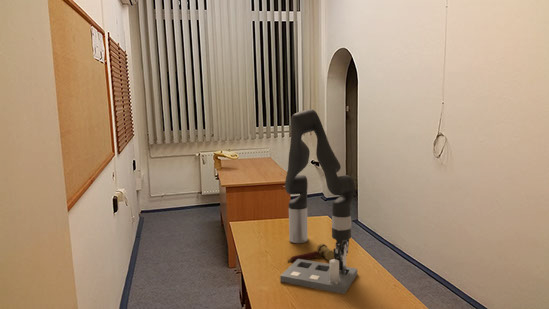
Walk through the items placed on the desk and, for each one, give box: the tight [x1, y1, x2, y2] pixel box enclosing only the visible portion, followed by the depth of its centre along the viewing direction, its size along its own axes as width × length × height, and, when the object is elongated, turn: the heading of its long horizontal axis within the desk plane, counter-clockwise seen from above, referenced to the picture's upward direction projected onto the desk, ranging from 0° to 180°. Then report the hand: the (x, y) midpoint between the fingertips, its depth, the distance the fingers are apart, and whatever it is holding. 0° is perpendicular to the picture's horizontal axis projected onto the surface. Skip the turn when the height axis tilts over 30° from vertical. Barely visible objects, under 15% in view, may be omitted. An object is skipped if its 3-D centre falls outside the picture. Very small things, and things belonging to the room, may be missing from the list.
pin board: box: [279, 258, 358, 295], centre depth 162 cm, size 18×26×10 cm
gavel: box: [287, 243, 335, 263], centre depth 182 cm, size 21×5×10 cm
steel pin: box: [338, 249, 347, 275], centre depth 162 cm, size 4×4×10 cm
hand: (341, 267), depth 162 cm, fingers closed on steel pin, 3 cm apart
